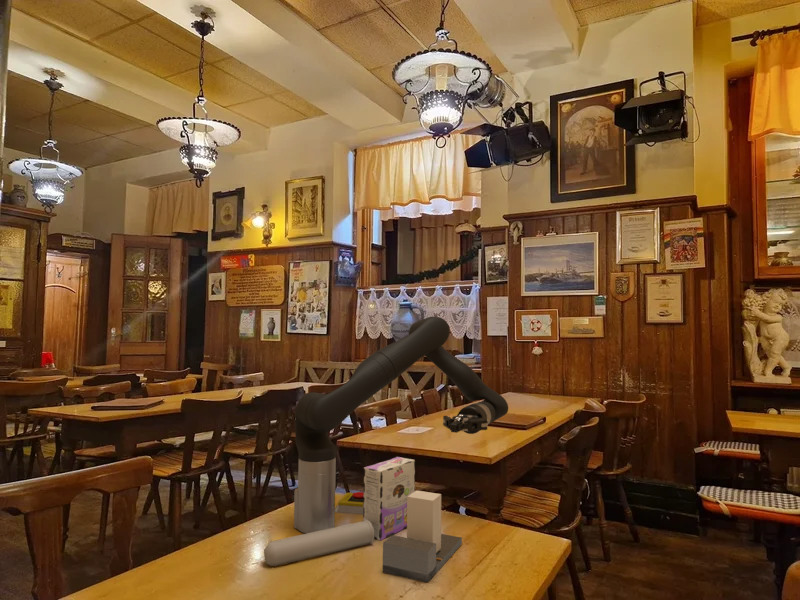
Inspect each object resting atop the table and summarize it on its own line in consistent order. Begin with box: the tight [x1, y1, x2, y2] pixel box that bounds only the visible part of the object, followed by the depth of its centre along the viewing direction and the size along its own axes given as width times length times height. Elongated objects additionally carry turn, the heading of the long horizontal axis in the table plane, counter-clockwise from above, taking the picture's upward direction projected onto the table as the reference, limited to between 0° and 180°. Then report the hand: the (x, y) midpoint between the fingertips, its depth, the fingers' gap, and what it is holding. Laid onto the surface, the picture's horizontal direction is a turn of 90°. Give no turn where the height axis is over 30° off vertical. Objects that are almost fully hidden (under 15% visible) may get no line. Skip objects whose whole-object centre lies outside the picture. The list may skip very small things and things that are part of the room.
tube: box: [263, 519, 375, 567], centre depth 121 cm, size 5×5×25 cm
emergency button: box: [335, 491, 364, 516], centre depth 150 cm, size 9×4×15 cm
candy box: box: [362, 456, 416, 542], centre depth 135 cm, size 14×6×16 cm, turn 142°
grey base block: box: [382, 533, 463, 583], centre depth 119 cm, size 10×21×6 cm, turn 155°
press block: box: [406, 489, 442, 553], centre depth 119 cm, size 6×5×12 cm
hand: (453, 428), depth 137 cm, fingers closed
